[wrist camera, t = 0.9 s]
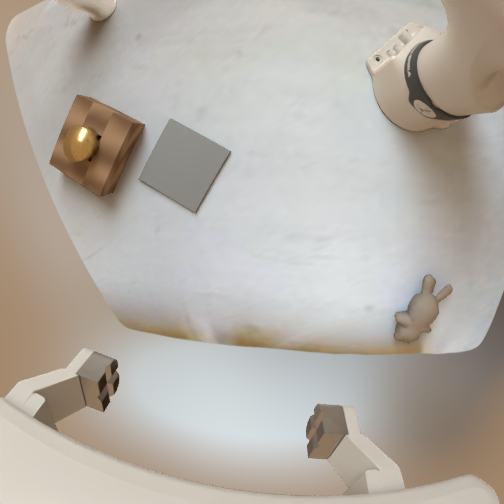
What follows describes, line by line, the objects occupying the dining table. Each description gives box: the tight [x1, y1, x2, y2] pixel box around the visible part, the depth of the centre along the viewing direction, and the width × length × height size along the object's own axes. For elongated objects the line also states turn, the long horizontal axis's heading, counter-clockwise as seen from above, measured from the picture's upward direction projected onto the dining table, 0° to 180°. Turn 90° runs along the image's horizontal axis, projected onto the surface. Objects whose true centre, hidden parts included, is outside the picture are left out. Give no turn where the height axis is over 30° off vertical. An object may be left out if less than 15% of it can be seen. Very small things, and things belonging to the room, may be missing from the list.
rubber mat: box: [139, 119, 231, 212], centre depth 48 cm, size 12×12×1 cm
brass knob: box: [63, 126, 102, 162], centre depth 44 cm, size 6×6×8 cm
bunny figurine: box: [394, 275, 452, 343], centre depth 51 cm, size 10×5×15 cm
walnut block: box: [49, 95, 145, 197], centre depth 45 cm, size 14×14×5 cm
